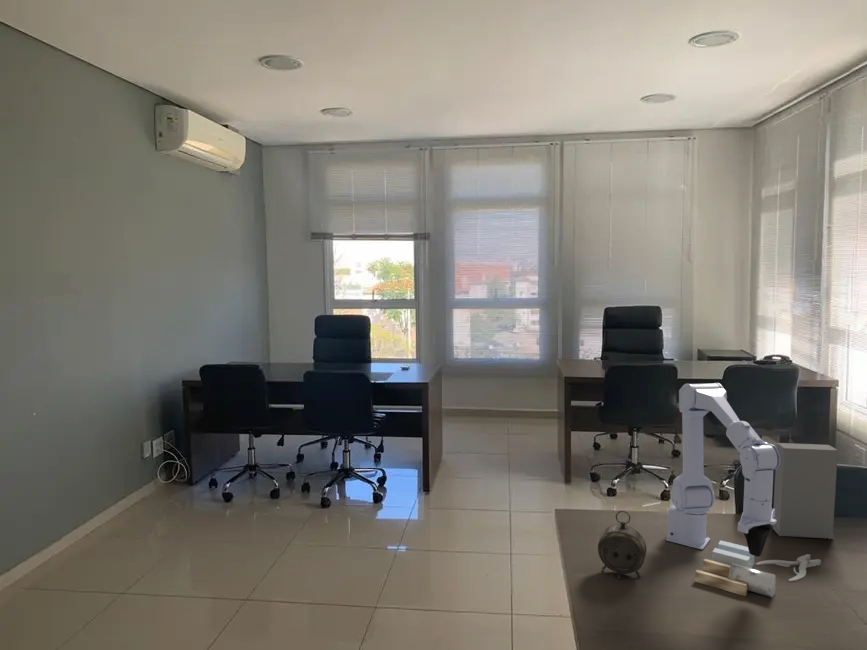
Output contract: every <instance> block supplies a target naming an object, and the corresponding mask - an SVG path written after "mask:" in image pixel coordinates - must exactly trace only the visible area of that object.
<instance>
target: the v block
mask: <svg viewBox="0 0 867 650" xmlns="http://www.w3.org/2000/svg"><path fill="white" fill-rule="evenodd" d="M711 552H712V553H711V560H712V561H715V562H719V563H723V564H727V565H730V566H731V564H732V563H734V564H738V565H741V566H745V567H749V568H752V569H753V567H754V565H755V556H754V555H751V554H750V553H749V549H748V546H747V545H746V546H745V545H741V544H737V543H734V542H729V541H725V540H719V542H718V543H717V547H714V549H713V550H712V551H711Z"/></svg>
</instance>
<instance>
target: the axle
mask: <svg viewBox="0 0 867 650" xmlns="http://www.w3.org/2000/svg"><path fill="white" fill-rule="evenodd" d="M727 578H729V579H733V580H736V581H740V582H743V583H747V592H752V593H756V594H760V595H762V596H766V597H769V598H773V597H774V595H775V591H776V584H777V576H776V574H774V573H772V572H771V573H770V572H767V571H763V570H759V569H756V568H753V567H752V568H749V567H745V566H741V565H738V564H734V563H732V564H731V566H730V569H729V576H728V577H727Z"/></svg>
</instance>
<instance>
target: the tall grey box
mask: <svg viewBox="0 0 867 650" xmlns="http://www.w3.org/2000/svg"><path fill="white" fill-rule="evenodd" d="M776 449H777V450H778V452H779V455H780V465H779V467H778V468H777V469H776V470H775V471H774V473H775V474H774V490H773V491H774V492H773V493H774V494H773V495H774V496H773V507H772V509H775V517H774V518H773V519H775V520H777V523H776V524H774V525H773V529H772V530H773V531H774V532H775V533H776V534H777V535H778V536H779V537H797V538H798V537H799V538H816V539H827V538H828V539H827V540H831V539H832V540H833V539H834V535H835V534H834V518H835V506H836V504H835V503H836V502H835V501H836V490H837V489H836V485H837V469H838V468H837V467H838V454H839V452H838V451H839V450H838V449H837V448H835V447H833V446H831V445H829V444H817V443H816V444H814V443H793V442H792V443H789V442H788V443H787V442H786V443H785V442H776Z"/></svg>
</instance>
